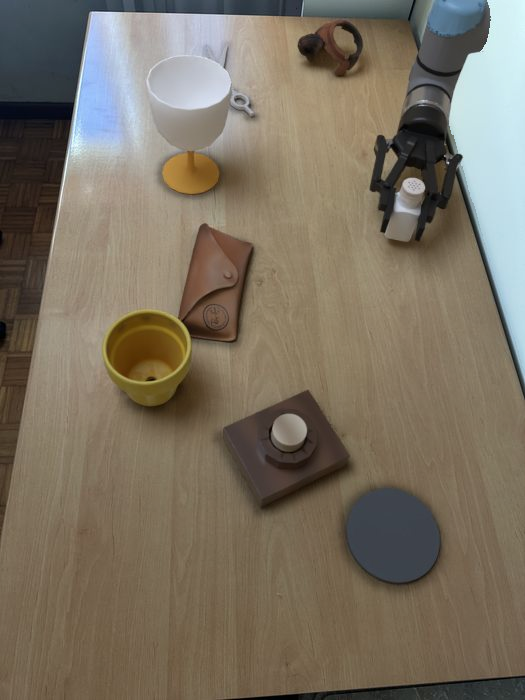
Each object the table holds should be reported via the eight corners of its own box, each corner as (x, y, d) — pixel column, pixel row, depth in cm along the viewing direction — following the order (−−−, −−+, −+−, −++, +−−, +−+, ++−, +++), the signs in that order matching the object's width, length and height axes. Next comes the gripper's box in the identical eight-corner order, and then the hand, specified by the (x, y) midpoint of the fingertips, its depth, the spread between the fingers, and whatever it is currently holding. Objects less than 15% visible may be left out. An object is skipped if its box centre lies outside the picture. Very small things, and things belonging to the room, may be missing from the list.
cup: (212, 210, 102) (214, 119, 87) (141, 187, 103) (131, 95, 88) (238, 160, 108) (244, 67, 93) (171, 139, 109) (166, 45, 94)
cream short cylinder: (294, 415, 80) (296, 408, 78) (310, 443, 78) (313, 436, 76) (264, 429, 78) (266, 421, 77) (281, 457, 77) (283, 451, 75)
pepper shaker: (409, 243, 99) (427, 198, 91) (383, 239, 99) (399, 193, 91) (410, 224, 101) (428, 178, 93) (385, 219, 102) (400, 173, 93)
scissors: (190, 113, 111) (187, 38, 121) (191, 116, 112) (187, 42, 122) (253, 113, 113) (245, 40, 123) (253, 117, 113) (245, 43, 123)
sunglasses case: (239, 342, 89) (214, 314, 84) (194, 350, 92) (168, 323, 87) (254, 240, 98) (233, 210, 94) (214, 250, 101) (191, 222, 97)
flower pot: (196, 415, 84) (196, 378, 75) (113, 425, 82) (103, 388, 74) (188, 346, 89) (186, 304, 80) (109, 354, 87) (99, 311, 79)
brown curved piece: (333, 40, 127) (359, 14, 120) (346, 87, 127) (373, 64, 120) (281, 37, 121) (305, 10, 114) (294, 86, 121) (319, 62, 114)
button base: (305, 399, 86) (310, 381, 82) (345, 465, 82) (353, 449, 77) (222, 437, 82) (223, 420, 78) (259, 508, 78) (263, 494, 74)
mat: (439, 498, 80) (440, 496, 80) (437, 591, 75) (439, 590, 74) (349, 482, 81) (350, 480, 80) (341, 574, 75) (342, 573, 74)
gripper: (469, 155, 107) (454, 262, 95) (365, 130, 109) (337, 233, 96) (486, 117, 101) (472, 227, 89) (375, 91, 102) (346, 196, 90)
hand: (402, 230), depth 93 cm, fingers closed on pepper shaker, 4 cm apart
